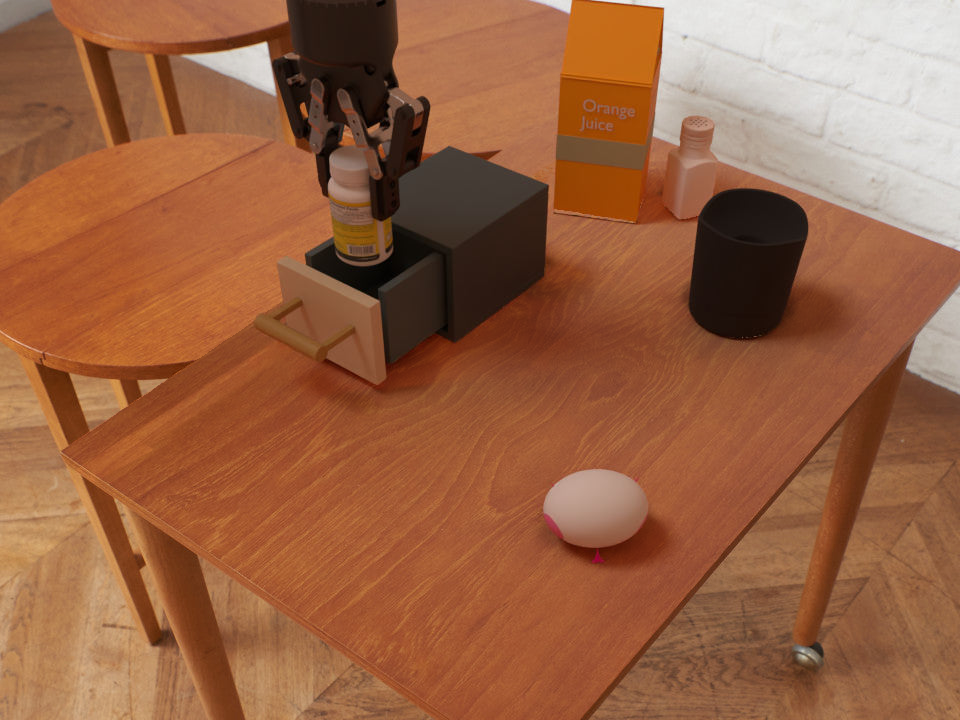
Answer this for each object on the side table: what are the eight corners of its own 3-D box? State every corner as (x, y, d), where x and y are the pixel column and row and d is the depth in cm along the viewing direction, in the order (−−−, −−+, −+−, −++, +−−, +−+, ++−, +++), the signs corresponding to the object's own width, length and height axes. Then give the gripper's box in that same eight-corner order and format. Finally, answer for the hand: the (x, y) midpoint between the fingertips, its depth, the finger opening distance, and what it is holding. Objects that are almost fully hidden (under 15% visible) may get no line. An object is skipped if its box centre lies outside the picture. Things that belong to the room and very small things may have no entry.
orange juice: (636, 225, 107) (660, 23, 93) (552, 213, 109) (562, 13, 94) (646, 187, 113) (670, -8, 98) (566, 177, 114) (577, -18, 100)
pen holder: (807, 325, 96) (833, 228, 89) (724, 355, 93) (745, 256, 85) (743, 274, 101) (763, 178, 94) (663, 300, 98) (677, 203, 91)
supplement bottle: (368, 230, 89) (360, 135, 83) (405, 252, 86) (399, 157, 80) (323, 251, 86) (311, 155, 80) (359, 275, 84) (350, 178, 78)
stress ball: (630, 542, 81) (629, 457, 80) (659, 567, 73) (659, 473, 72) (533, 548, 80) (531, 462, 79) (552, 574, 72) (550, 479, 71)
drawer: (337, 414, 85) (327, 336, 79) (248, 364, 89) (232, 286, 83) (471, 316, 94) (470, 240, 89) (384, 275, 98) (378, 200, 93)
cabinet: (454, 343, 93) (452, 249, 86) (358, 296, 98) (348, 203, 91) (544, 276, 101) (549, 184, 94) (451, 235, 105) (449, 145, 98)
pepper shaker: (678, 223, 108) (691, 135, 101) (658, 204, 110) (670, 117, 103) (711, 215, 109) (726, 127, 102) (691, 197, 111) (705, 110, 105)
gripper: (225, -32, 72) (262, 194, 84) (380, 21, 66) (396, 257, 78) (303, -61, 76) (328, 159, 88) (456, -12, 70) (459, 216, 83)
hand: (360, 204), depth 83 cm, fingers closed on supplement bottle, 4 cm apart
